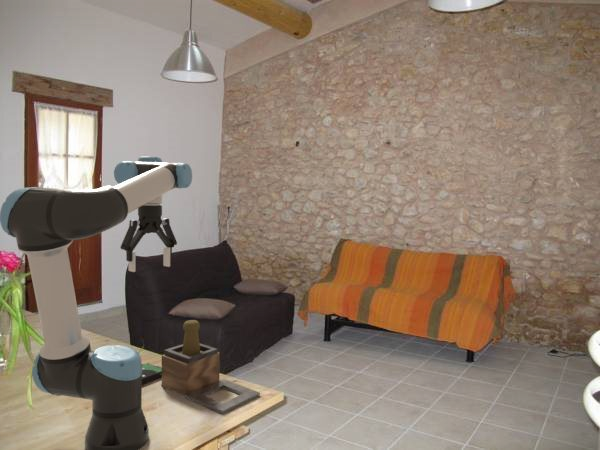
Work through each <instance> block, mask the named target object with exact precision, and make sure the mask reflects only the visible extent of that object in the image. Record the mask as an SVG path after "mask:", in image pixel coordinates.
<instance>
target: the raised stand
mask: <svg viewBox="0 0 600 450" xmlns="http://www.w3.org/2000/svg"><path fill="white" fill-rule="evenodd" d="M199 344H200V352H201V353H198V354H195V355H193V356H190V357H189V356H187V355H184V354H182V349H183V343H182V344H178V345H176V346H173V347H168V348H167V349H164V350H163V354H161V368H162V378H161V386H162V387H165V388H167V389H169V390H171V391H174V392H175V393H178V394H181V395H182V396H185V397H186V395H187V394H189V393H192V392H194V391H196V390H199V389H201V388H203V387H206V386H208V385H211V384H213V383H215V382H218V381H220V362H221V361H220V359H221V358H220V357H221V354H220V353H221V352H219V351H218V348H216V347H212V346H211V345H207V344H203V343H200V342H199Z"/></svg>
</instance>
